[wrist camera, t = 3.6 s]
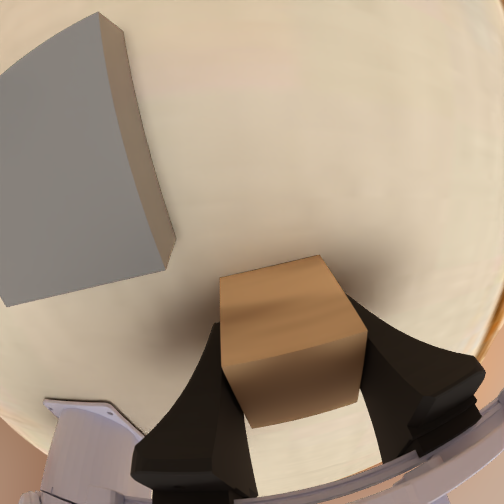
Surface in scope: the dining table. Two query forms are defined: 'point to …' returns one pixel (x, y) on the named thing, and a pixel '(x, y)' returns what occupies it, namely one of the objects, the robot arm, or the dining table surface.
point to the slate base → (76, 170)
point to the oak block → (290, 341)
